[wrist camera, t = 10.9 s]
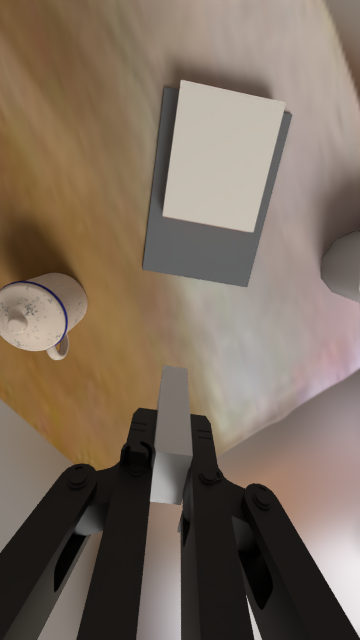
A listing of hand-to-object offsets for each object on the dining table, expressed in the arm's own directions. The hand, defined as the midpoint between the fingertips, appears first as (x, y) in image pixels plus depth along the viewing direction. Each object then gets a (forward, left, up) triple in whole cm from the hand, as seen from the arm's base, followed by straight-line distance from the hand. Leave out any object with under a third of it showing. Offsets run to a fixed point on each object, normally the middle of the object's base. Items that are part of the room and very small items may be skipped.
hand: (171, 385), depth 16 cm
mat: (-6, +13, -24) cm, 28 cm away
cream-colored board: (-4, +10, -23) cm, 25 cm away
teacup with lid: (-11, -14, -25) cm, 30 cm away
